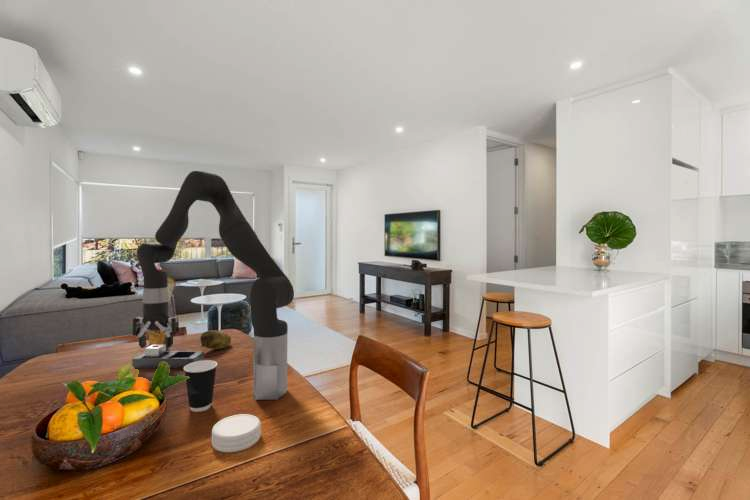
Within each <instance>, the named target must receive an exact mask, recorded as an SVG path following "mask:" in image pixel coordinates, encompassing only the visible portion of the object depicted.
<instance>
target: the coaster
mask: <svg viewBox="0 0 750 500" xmlns="http://www.w3.org/2000/svg"><path fill="white" fill-rule="evenodd" d="M261 425H262V424H261V420H260V418H259V417H257V416H255V415H253V414H250V413H247V414H246V413H240V414H234V415H231V416H227V417H225V418H222V419H219V421H218V422H216V423H215V424H214V425H213V427H212V429H211V445H212V447H213V449H214V450H216V451H218V452H221V453H235V452H240V451H243V450H246V449H248V448H251V447H253V446H254V445H256V443H258V441H259V440H260V438H261V435H262V434H261V430H262V426H261Z"/></svg>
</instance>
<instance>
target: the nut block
mask: <svg viewBox="0 0 750 500" xmlns="http://www.w3.org/2000/svg"><path fill="white" fill-rule="evenodd" d="M166 351H167V349H166V345H149V346H148V347H147V346H146V347H144V352H145V358H161V357H163V356H165V355H166Z"/></svg>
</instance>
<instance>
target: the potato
mask: <svg viewBox="0 0 750 500" xmlns="http://www.w3.org/2000/svg"><path fill="white" fill-rule="evenodd" d="M231 341H232V337H231V336H230V335H229V334H227V333H223V332H219V331H217V330H213V329H211V330H206V331H204V332H203V333H201V335H200V343H201V347H205V348H207V349H213V350H217V349H219V350H223V349H222V348H224V349H226V348H228V347H229V346H230V345H231ZM227 346H228V347H227ZM225 347H226V348H225Z"/></svg>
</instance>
